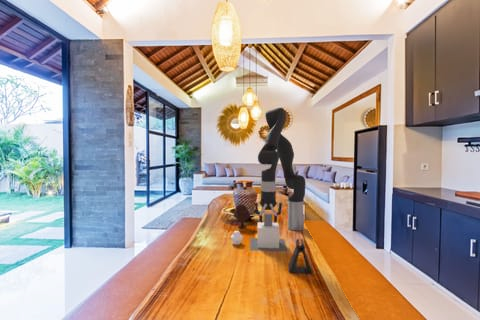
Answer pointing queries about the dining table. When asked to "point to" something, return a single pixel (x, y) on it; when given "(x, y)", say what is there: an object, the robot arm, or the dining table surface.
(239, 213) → the ice cream bowl
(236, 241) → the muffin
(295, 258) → the phone stand
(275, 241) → the cover
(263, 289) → the dining table surface
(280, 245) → the mat
